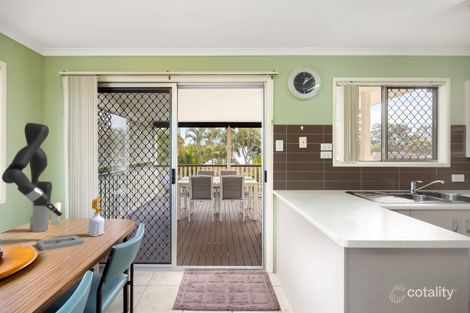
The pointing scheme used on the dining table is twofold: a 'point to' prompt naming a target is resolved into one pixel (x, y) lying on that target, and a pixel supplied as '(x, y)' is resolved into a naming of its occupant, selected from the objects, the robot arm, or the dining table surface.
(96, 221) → the soap bottle
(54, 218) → the cream rounded cylinder
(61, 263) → the dining table surface
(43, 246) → the rectangular recess board
